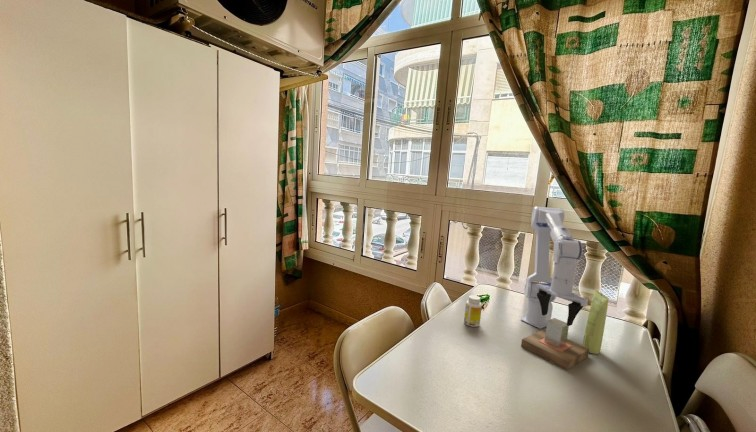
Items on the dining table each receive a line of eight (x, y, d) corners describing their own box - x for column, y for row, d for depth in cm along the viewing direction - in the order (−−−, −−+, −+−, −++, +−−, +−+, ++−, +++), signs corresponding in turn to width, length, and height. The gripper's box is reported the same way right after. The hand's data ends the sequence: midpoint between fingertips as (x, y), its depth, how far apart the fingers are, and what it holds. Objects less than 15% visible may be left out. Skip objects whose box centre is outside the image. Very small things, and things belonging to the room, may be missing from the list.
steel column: (551, 338, 102) (554, 317, 101) (565, 344, 98) (569, 323, 97) (544, 341, 99) (547, 320, 98) (559, 348, 96) (562, 327, 95)
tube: (605, 352, 100) (615, 294, 98) (598, 357, 98) (608, 297, 95) (585, 344, 105) (595, 288, 102) (578, 348, 102) (588, 291, 100)
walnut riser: (543, 335, 109) (544, 328, 109) (587, 356, 98) (589, 348, 97) (521, 346, 101) (522, 338, 100) (567, 370, 90) (568, 361, 89)
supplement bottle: (482, 325, 114) (485, 298, 112) (473, 329, 110) (477, 301, 109) (469, 319, 118) (472, 293, 117) (460, 322, 114) (463, 296, 113)
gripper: (533, 272, 100) (527, 312, 102) (583, 287, 88) (575, 332, 90) (544, 270, 104) (538, 308, 106) (593, 284, 92) (586, 327, 94)
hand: (556, 319), depth 98 cm, fingers open, 7 cm apart
